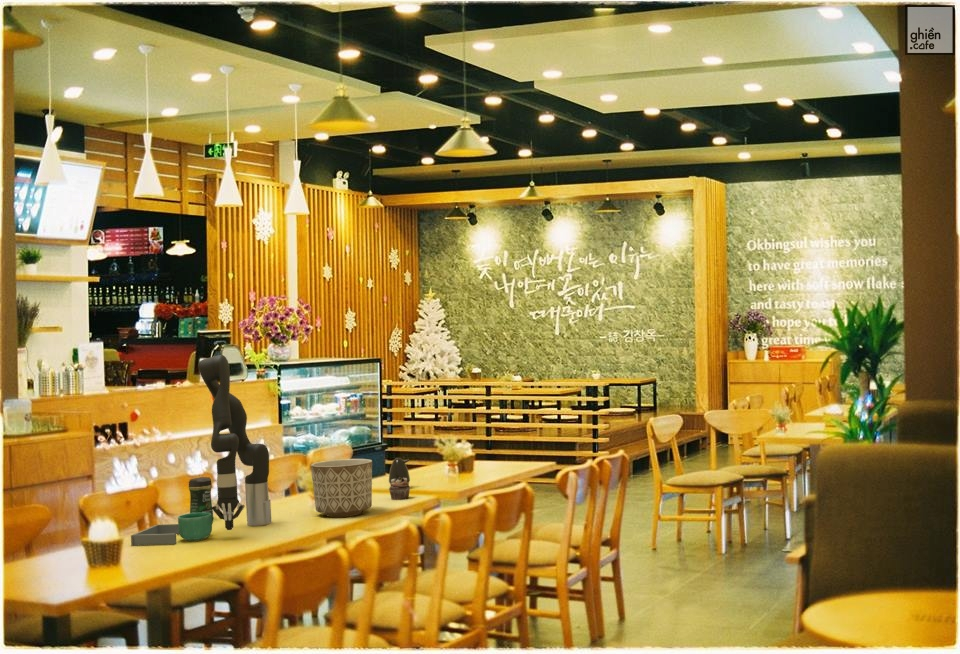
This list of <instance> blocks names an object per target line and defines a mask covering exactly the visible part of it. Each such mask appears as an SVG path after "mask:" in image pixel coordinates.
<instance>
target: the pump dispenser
mask: <svg viewBox="0 0 960 654" xmlns="http://www.w3.org/2000/svg"><path fill="white" fill-rule="evenodd" d="M409 461H410V459H409V458H407V459H405V460H404V459H402V458H401V457H396V458H395V459H393V460H392V463H391V466H390V468H389V473H388V483H389V485H390V486H391V483H392V482H391V480H392V479H393V478H394V477H395V478H396V479H397V477H401V478H403V477H405V478H407V482H408V483H409V484H410V481H411V477H410V473H409V470H408V467H407V465H406V463H408V462H409Z"/></svg>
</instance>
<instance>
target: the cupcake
mask: <svg viewBox="0 0 960 654" xmlns="http://www.w3.org/2000/svg"><path fill="white" fill-rule="evenodd" d="M391 482H392V483H391V485H390V486H389V489H388V490H389V494H390V499H391V501H403V500H404V501H405V500H408V499H409V496H410V489H411V488H410V482H409V483H408V482H407V478H405V477H403V478H401V477H397V479H396V478H395V477H394V478H393V479H392V480H391Z"/></svg>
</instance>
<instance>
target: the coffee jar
mask: <svg viewBox="0 0 960 654" xmlns="http://www.w3.org/2000/svg"><path fill="white" fill-rule="evenodd" d="M212 487H213V485H212V479H211V477H210V476H209V477H208V476H199V477H195V478H191V479H189V481H188V490H189V497H190V498H189V499H190V502H189V503H190V504H189V508H190V509H189V514H190V513H202V512H205V513H211V514H212V515H213V516H214V511H213V509H212V507H213V504H212V495H211V494H212V493H211V492H212Z"/></svg>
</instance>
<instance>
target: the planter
mask: <svg viewBox="0 0 960 654" xmlns="http://www.w3.org/2000/svg"><path fill="white" fill-rule="evenodd" d="M310 472H311V480H312V488H313V489H312V490H313V497H314V504H315V510H316V512H318V513H320V514H325V515H326V516H327V517H332V518H341V517H351V516H358V515H361V514H362V513H363V511H365V510H369V509H370V508H372V505H373V503H372V500H373V493H372V491H373V489H372V488H373V460H372V459H367V458H342V459H340V458H339V459H329V460H323V461H317V462H313V463H311V464H310Z"/></svg>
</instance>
